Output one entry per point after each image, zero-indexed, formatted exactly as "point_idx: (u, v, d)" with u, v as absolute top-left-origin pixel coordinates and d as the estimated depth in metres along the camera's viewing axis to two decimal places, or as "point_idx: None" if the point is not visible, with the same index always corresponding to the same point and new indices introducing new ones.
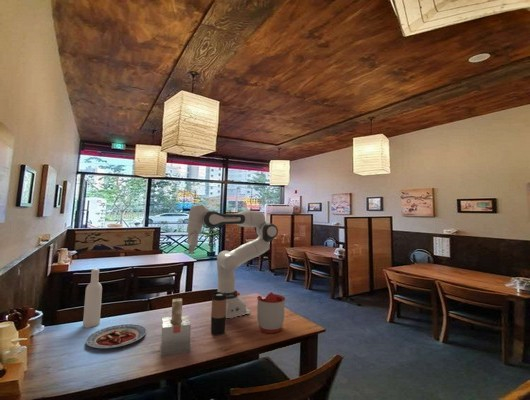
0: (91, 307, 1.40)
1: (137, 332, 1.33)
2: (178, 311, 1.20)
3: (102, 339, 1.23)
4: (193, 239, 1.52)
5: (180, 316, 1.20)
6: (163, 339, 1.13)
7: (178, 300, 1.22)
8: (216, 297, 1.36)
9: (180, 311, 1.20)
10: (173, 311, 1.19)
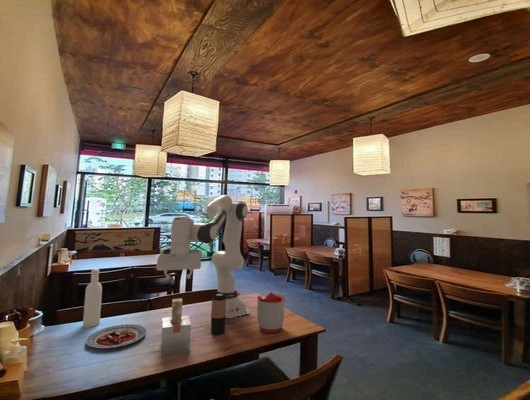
0: (91, 307, 1.40)
1: (137, 332, 1.33)
2: (178, 311, 1.20)
3: (102, 339, 1.23)
4: (200, 259, 1.26)
5: (180, 316, 1.20)
6: (163, 339, 1.13)
7: (178, 300, 1.22)
8: (216, 297, 1.36)
9: (180, 311, 1.20)
10: (173, 311, 1.19)
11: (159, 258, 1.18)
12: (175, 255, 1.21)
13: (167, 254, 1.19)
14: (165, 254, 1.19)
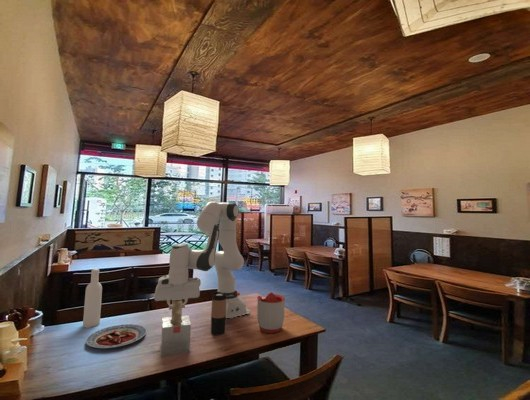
0: (91, 307, 1.40)
1: (137, 332, 1.33)
2: (178, 311, 1.20)
3: (102, 339, 1.23)
4: None
5: (180, 316, 1.20)
6: (163, 339, 1.13)
7: (178, 300, 1.22)
8: (216, 297, 1.36)
9: (180, 311, 1.20)
10: (173, 311, 1.19)
11: (157, 288, 1.17)
12: (173, 285, 1.20)
13: (165, 284, 1.18)
14: (163, 284, 1.18)
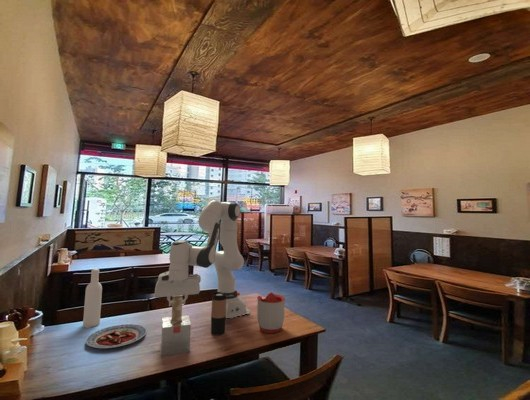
0: (91, 307, 1.40)
1: (137, 332, 1.33)
2: (178, 308, 1.20)
3: (102, 339, 1.23)
4: None
5: (180, 312, 1.20)
6: (163, 339, 1.13)
7: (178, 296, 1.22)
8: (216, 297, 1.36)
9: (180, 307, 1.20)
10: (173, 308, 1.19)
11: (157, 285, 1.17)
12: (174, 281, 1.20)
13: (165, 281, 1.18)
14: (163, 281, 1.18)
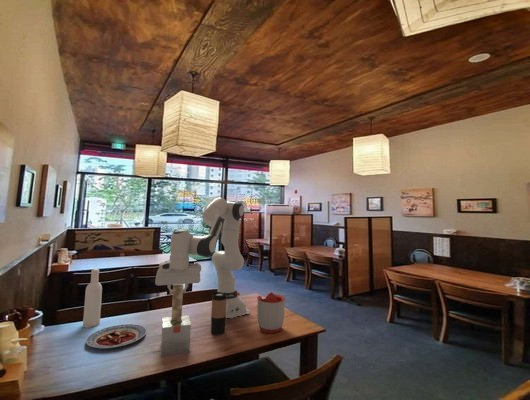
0: (91, 307, 1.40)
1: (137, 332, 1.33)
2: (178, 296, 1.20)
3: (102, 339, 1.23)
4: (199, 273, 1.26)
5: (181, 301, 1.21)
6: (163, 339, 1.13)
7: (179, 285, 1.22)
8: (216, 297, 1.36)
9: (181, 296, 1.21)
10: (174, 296, 1.20)
11: (158, 273, 1.18)
12: (174, 270, 1.20)
13: (166, 269, 1.18)
14: (164, 269, 1.18)
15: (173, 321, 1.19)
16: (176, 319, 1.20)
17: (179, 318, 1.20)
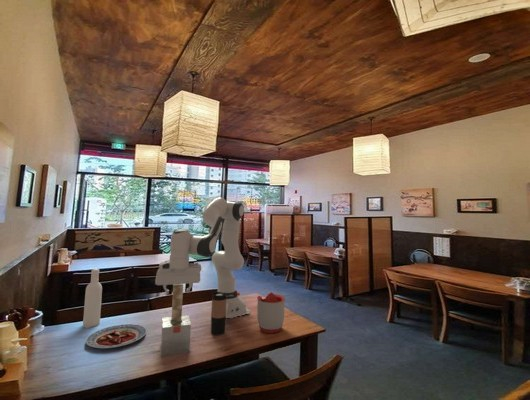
0: (91, 307, 1.40)
1: (137, 332, 1.33)
2: (178, 296, 1.20)
3: (102, 339, 1.23)
4: (199, 273, 1.26)
5: (181, 301, 1.21)
6: (163, 339, 1.13)
7: (179, 285, 1.22)
8: (216, 297, 1.36)
9: (181, 296, 1.21)
10: (174, 296, 1.20)
11: (158, 273, 1.18)
12: (174, 269, 1.20)
13: (166, 269, 1.18)
14: (164, 269, 1.18)
15: (173, 321, 1.19)
16: (176, 319, 1.20)
17: (179, 318, 1.20)
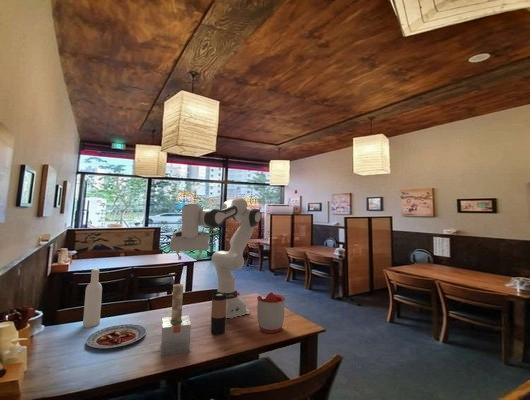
0: (91, 307, 1.40)
1: (137, 332, 1.33)
2: (178, 296, 1.20)
3: (102, 339, 1.23)
4: (208, 242, 1.42)
5: (181, 301, 1.21)
6: (163, 339, 1.13)
7: (179, 285, 1.22)
8: (216, 297, 1.36)
9: (181, 296, 1.21)
10: (174, 296, 1.20)
11: (172, 240, 1.33)
12: (186, 237, 1.36)
13: (179, 236, 1.34)
14: (177, 236, 1.34)
15: (173, 321, 1.19)
16: (176, 319, 1.20)
17: (179, 318, 1.20)
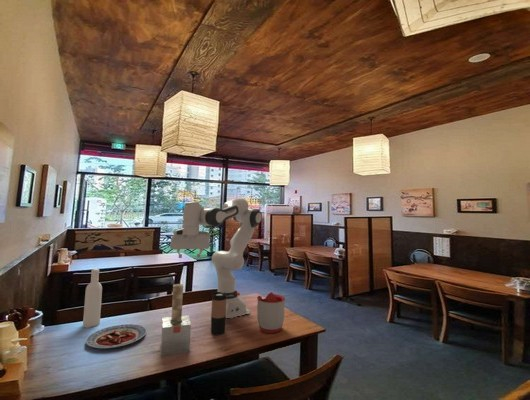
0: (91, 307, 1.40)
1: (137, 332, 1.33)
2: (178, 296, 1.20)
3: (102, 339, 1.23)
4: (208, 240, 1.42)
5: (181, 301, 1.21)
6: (163, 339, 1.13)
7: (179, 285, 1.22)
8: (216, 297, 1.36)
9: (181, 296, 1.21)
10: (174, 296, 1.20)
11: (173, 238, 1.34)
12: (187, 236, 1.37)
13: (180, 235, 1.35)
14: (178, 235, 1.34)
15: (173, 321, 1.19)
16: (176, 319, 1.20)
17: (179, 318, 1.20)
